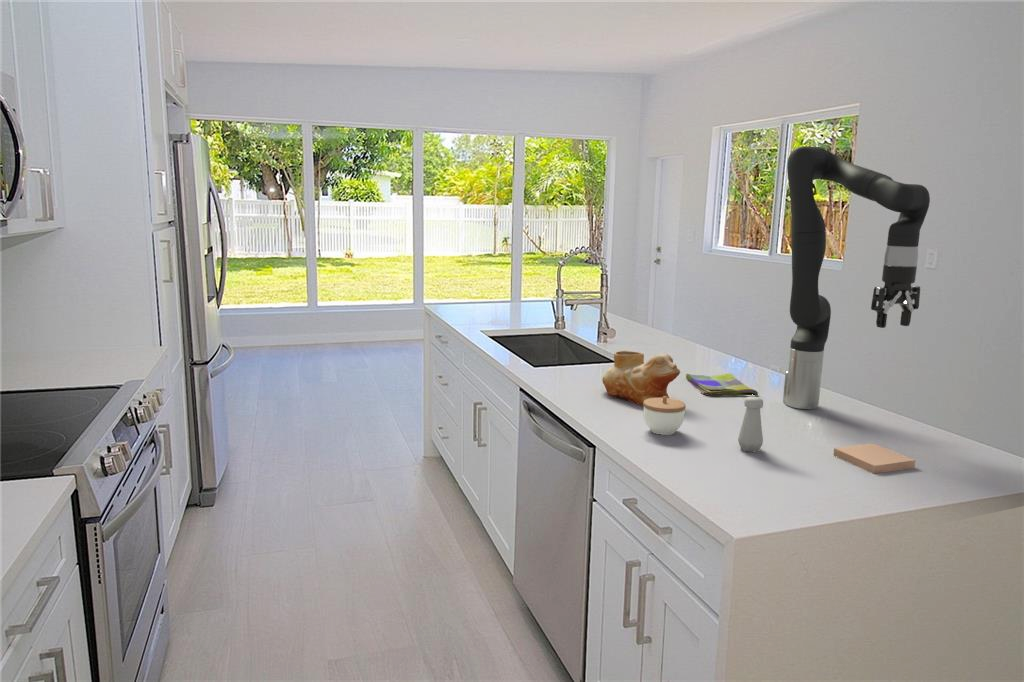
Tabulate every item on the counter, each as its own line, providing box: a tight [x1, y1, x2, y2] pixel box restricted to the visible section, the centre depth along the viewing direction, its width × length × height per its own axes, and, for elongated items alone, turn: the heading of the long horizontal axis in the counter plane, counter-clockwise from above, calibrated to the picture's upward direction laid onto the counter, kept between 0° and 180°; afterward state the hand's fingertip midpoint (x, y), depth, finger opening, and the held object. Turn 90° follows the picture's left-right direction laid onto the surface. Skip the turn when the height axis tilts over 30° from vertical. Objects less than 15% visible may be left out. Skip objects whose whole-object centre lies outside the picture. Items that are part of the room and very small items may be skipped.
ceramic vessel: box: [602, 350, 681, 407], centre depth 216 cm, size 14×26×15 cm, turn 40°
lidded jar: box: [643, 396, 686, 436], centre depth 184 cm, size 11×11×9 cm
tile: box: [832, 443, 916, 474], centre depth 165 cm, size 2×12×12 cm
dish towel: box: [685, 373, 759, 396], centre depth 232 cm, size 18×24×3 cm
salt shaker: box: [737, 396, 764, 453], centre depth 171 cm, size 6×6×13 cm
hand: (892, 326), depth 184 cm, fingers open, 8 cm apart
